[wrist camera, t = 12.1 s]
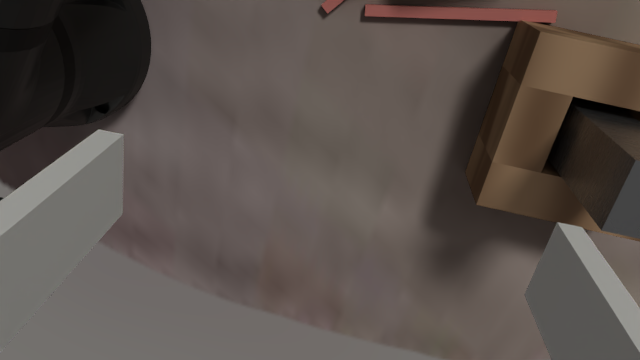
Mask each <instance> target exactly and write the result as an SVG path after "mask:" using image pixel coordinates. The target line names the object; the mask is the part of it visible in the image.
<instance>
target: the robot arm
mask: <svg viewBox="0 0 640 360" xmlns="http://www.w3.org/2000/svg"><path fill="white" fill-rule="evenodd" d="M150 56H151V36H150V29H149V24H148V20H147V16H146V13H145V10H144V8H143V5H142V3H141V0H0V151H1V150H3V149H5V148H6V147H8V146H10V145H12V144H13V143H15V142H17V141H19V140H21V139H22V138H24V137H26V136H28V135H29V134H31V133H33V132H35V131H37V130H38V129H40V128H42V127H56V126H78V125H84V124H89V123H92V122H96V121H98V120H101V119H103V118H105V117H107V116H109V115H110V114H112V113H113V112H115V111H117V110H118V109H120V108H121V107H123V106H124V105H125V104H127V103H128V102H129V101H130V100H131V99H132V98H133V97H134V95H135V94H136V93H137V92H138V90H139V89H140V87H141V85H142V83H143V81H144V79H145V77H146V74H147V71H148V67H149V63H150ZM123 152H124V134H119V133H114V132H109V131H104V130H100V129H98V130H97V131H95V132H94V133H93V134H91V135H90V136H89V137H87V138H86V139H84V140H83V141H82V142H80V143H79V144H78V145H76V146H75V147H74V148H72V149H71V150H69V151H68V152H67V153H65V154H64V155H63V156H61V157H60V158H58V159H57V160H56V161H54V162H53V163H52V164H50V165H49V166H48V167H46V168H45V169H43V170H42V171H41V172H39V173H38V174H37V175H35V176H34V177H32V178H31V179H30V180H28V181H27V182H26V183H24V184H23V185H22V186H20V187H19V188H17V189H16V190H15V191H13V192H12V193H11V194H9V195H8V196H6V197H5V198H0V353H1V352H2V350H3V349H4V348H5V347H6V346H7V345H8V343H10V341H11V340H12V339H13V338H14V337H15V336H16V334H17V333H18V332H19V331H20V330H21V329H22V328H23V327H24V325H25V324H26V323H27V322H28V321H29V320H30V318H31V317H32V316H33V315H34V314H35V313H36V312H37V311H38V309H39V308H40V307H41V306H42V305H43V304H44V303H45V301H46V300H47V299H48V298H49V297H50V296H51V295H52V293H53V292H54V291H55V290H56V289H57V288H58V286H59V285H60V284H61V283H62V282H63V281H64V280H65V279H66V278H67V276H68V275H69V274H70V273H71V272H72V271H73V269H74V268H75V267H76V266H77V265H78V264H79V263H80V262H81V260H82V259H83V258H84V257H85V256H86V255H87V254H88V252H89V251H90V250H91V249H92V248H93V247H94V245H95V244H96V243H97V242H98V241H99V240H100V239H101V238H102V236H103V235H104V234H105V233H106V232H107V231H108V230H109V229H110V227H111V226H112V225H113V224H114V223H115V222H116V221H117V219H118V218H119V217H120V216H121V215H122V214H123ZM525 297H526V300H527V302H528V305H529V307H530V309H531V312H532V314H533V317H534V319H535V321H536V324H537V326H538V328H539V331H540V333H541V336H542V338H543V340H544V343H545V345H546V348H547V350H548V352H549V355H550V357H551V360H640V308H639V307H638V305H637V304H636V302H635V301H634V300H633V298H632V297H631V295H630V294H629V292H628V291H627V290H626V288H625V287H624V285H623V284H622V283H621V281H620V280H619V278H618V277H617V276H616V274H615V273H614V271H613V270H612V268H611V267H610V266H609V264H608V263H607V261H606V260H605V259H604V257H603V256H602V254H601V253H600V252H599V250H598V249H597V247H596V246H595V244H594V243H593V242H592V240H591V239H590V237H589V236H588V235H587V233H586V232H585V230H584V229H583V228H582V227H579V226H574V225H569V224H564V223H559V222H557V223H556V225H555V228H554V230H553V232H552V234H551V237H550V239H549V241H548V243H547V246H546V248H545V250H544V252H543V254H542V257H541V259H540V261H539V263H538V266H537V268H536V270H535V272H534V275H533V277H532V279H531V281H530V284H529V286H528V288H527V290H526V293H525Z"/></svg>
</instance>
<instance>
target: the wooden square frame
mask: <svg viewBox="0 0 640 360" xmlns="http://www.w3.org/2000/svg"><path fill="white" fill-rule="evenodd" d="M573 97H577V98H582V99H586V100H591V101H595V102H600V103H604V104H609V105H613V106H618V107H620V108H621V109H623V110H624V111H626V112H627V113H629V114H630V115H631V116H633V117H634V118H636V119H637V120H638V121H640V45H637V44H632V43H628V42H623V41H619V40H614V39H609V38H605V37H600V36H596V35H591V34H586V33H582V32H577V31H573V30H568V29H564V28H559V27H554V26H550V25H545V24H541V23H536V22H528V21H524V20H521V21H518V23H517V26H516V29H515V31H514V34H513V37H512V40H511V43H510V46H509V49H508V51H507V54H506V57H505V60H504V63H503V66H502V68H501V71H500V74H499V77H498V80H497V83H496V86H495V88H494V91H493V94H492V97H491V100H490V103H489V106H488V108H487V111H486V114H485V117H484V120H483V123H482V126H481V128H480V131H479V134H478V137H477V140H476V143H475V146H474V148H473V151H472V154H471V157H470V160H469V163H468V166H467V168H466V171H465V174H466V177H467V180H468V182H469V185H470V188H471V191H472V194H473V197H474V200H475V202H476V205H480V206H484V207H489V208H493V209H498V210H502V211H507V212H511V213H515V214H520V215H524V216H529V217H533V218H538V219H542V220H547V221H551V222H556V223H557V222H559V223H564V224H569V225H574V226H579V227H582V228H583V229H587V230H591V231H596V232H600V233H605V234H609V235H613V236H618V237H622V238H627V239H631V240H636V241H640V239H638V238H634V237H629V236H624V235H620V234H615V233H610V232H606V231H601V229H600V228H599V227H598V225H597V224H596V223H595V221H594V220H593V219H592V217H591V216H590V215H589V213H588V212H587V211H586V209H585V208H584V207H583V205H582V204H581V203H580V201H579V200H578V199H577V197H576V196H575V195H574V193H573V192H572V191H571V189H570V188H569V187H568V185H567V184H566V183H565V181H564V180H563V179H562V177H561V176H560V175H559V173H558V172H557V171H556V169H555V168H554V167H553V165H552V164H551V163H550V161H549V160H548V159H547V158H548V155H549V153H550V150H551V148H552V146H553V143H554V141H555V139H556V136H557V134H558V131H559V129H560V127H561V124H562V122H563V120H564V117H565V115H566V112H567V110H568V108H569V105H570V103H571V101H572V98H573Z"/></svg>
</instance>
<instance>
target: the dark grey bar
mask: <svg viewBox="0 0 640 360" xmlns="http://www.w3.org/2000/svg"><path fill="white" fill-rule="evenodd" d="M547 159H548V160H549V161H550V163H551V164H552V165H553V167H554V168H555V169H556V171H557V172H558V173H559V175H560V176H561V177H562V179H563V180H564V181H565V183H566V184H567V185H568V187H569V188H570V189H571V191H572V192H573V193H574V195H575V196H576V197H577V199H578V200H579V201H580V203H581V204H582V205H583V207H584V208H585V209H586V211H587V212H588V213H589V215H590V216H591V217H592V219H593V220H594V221H595V223H596V224H597V225H598V227H599V228H600V229H601V231H606V232H610V233H615V234H620V235H624V236H629V237H634V238H638V239H640V121H638V120H637V119H636V118H634V117H633V116H631V115H630V114H629V113H627V112H626V111H624V110H623V109H621V108H620V107H618V106H613V105H609V104H604V103H600V102H595V101H591V100H586V99H582V98H577V97H573V98H572V101H571V103H570V105H569V108H568V110H567V112H566V115H565V117H564V120H563V122H562V124H561V127H560V129H559V131H558V134H557V136H556V139H555V141H554V143H553V146H552V148H551V150H550V153H549V155H548V158H547Z"/></svg>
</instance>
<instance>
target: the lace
mask: <svg viewBox="0 0 640 360" xmlns="http://www.w3.org/2000/svg"><path fill="white" fill-rule="evenodd" d="M342 1H344V0H326V1H325V2H324V3H323V4H322V5H321V6H322V7H323V8H324V10H325V11H326V12H327V14H328V13H329V12H330V11H331V10H333V9H334V8H335V7H336V6H337V5H339V4H340V3H341V2H342ZM365 16H376V17H405V18H434V19H464V20H493V21H521V20H524V21H528V22H552V23H555V21H556V16H557V11H556V10H531V9H499V8H468V7H437V6H406V5H374V4H366V5H365Z"/></svg>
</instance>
